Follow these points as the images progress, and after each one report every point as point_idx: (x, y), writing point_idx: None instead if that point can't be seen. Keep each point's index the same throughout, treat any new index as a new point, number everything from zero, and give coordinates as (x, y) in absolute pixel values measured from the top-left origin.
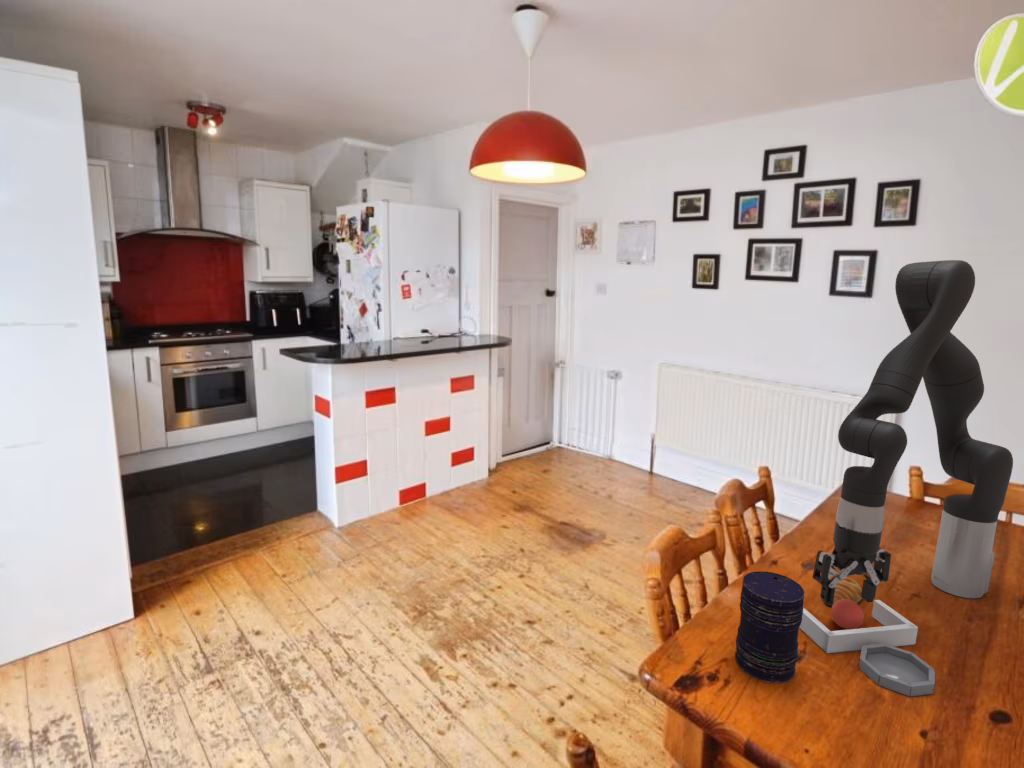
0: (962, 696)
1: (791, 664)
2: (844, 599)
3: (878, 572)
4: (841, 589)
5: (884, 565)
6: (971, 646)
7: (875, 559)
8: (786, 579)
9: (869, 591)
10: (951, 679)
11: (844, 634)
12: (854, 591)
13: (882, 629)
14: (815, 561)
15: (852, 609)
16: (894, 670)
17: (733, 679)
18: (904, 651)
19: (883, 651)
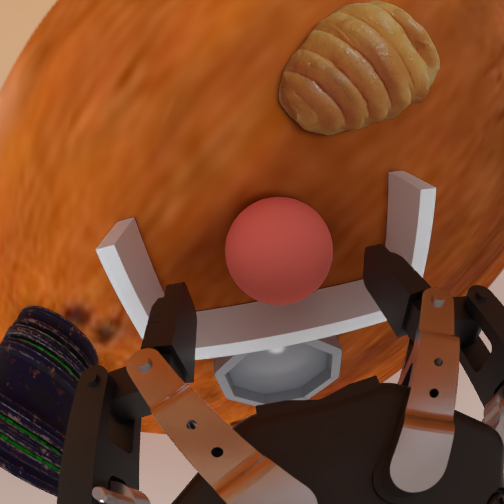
0: (342, 381)
1: None
2: (282, 261)
3: (475, 326)
4: (363, 85)
5: (482, 399)
6: (467, 275)
7: (493, 402)
8: (19, 476)
9: (384, 307)
10: (362, 357)
11: (199, 358)
12: (403, 104)
13: (322, 334)
14: (61, 462)
15: (279, 303)
16: (275, 368)
17: None
18: (328, 348)
19: None
